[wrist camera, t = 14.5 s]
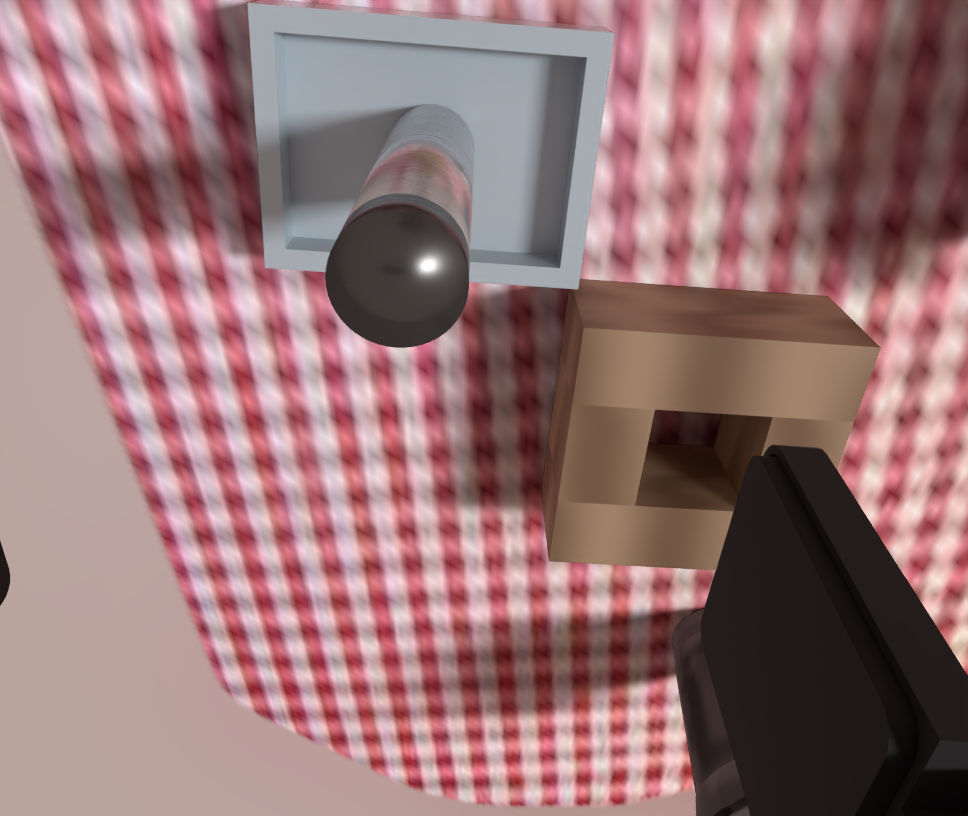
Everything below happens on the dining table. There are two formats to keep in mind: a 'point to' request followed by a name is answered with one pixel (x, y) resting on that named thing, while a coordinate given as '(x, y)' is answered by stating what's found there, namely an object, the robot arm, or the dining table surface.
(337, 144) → the dish
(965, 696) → the robot arm
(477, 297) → the dining table surface
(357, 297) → the pin
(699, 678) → the beverage cup
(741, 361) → the block
